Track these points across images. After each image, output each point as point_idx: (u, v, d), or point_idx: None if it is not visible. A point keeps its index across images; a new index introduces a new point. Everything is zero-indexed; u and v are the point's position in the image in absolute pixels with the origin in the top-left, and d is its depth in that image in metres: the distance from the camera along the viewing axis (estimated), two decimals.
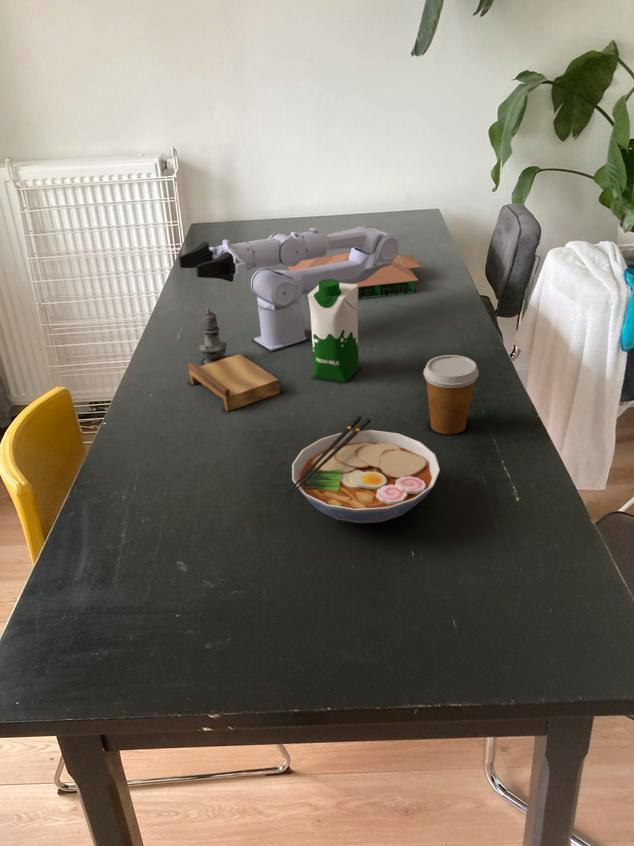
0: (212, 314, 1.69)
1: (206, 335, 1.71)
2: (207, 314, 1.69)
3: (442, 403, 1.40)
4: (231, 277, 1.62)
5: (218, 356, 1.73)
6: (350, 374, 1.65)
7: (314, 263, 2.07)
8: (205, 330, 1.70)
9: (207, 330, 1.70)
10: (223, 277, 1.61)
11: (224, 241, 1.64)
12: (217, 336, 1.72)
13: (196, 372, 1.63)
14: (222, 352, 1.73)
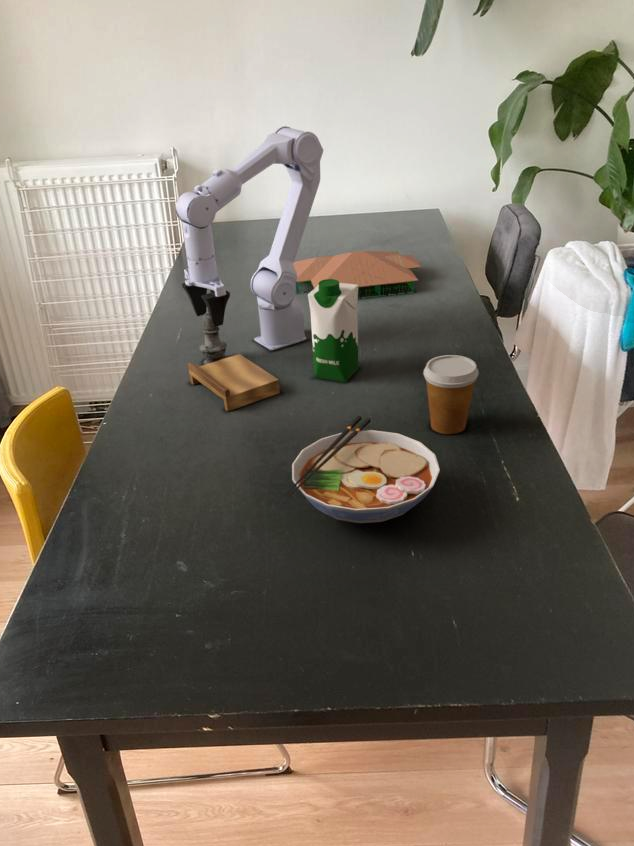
0: None
1: (206, 335, 1.71)
2: (207, 314, 1.69)
3: (442, 403, 1.40)
4: (226, 296, 1.63)
5: (218, 356, 1.73)
6: (350, 374, 1.65)
7: (314, 263, 2.07)
8: (205, 330, 1.70)
9: (207, 330, 1.70)
10: (225, 302, 1.64)
11: None
12: (217, 336, 1.72)
13: (196, 372, 1.63)
14: (222, 352, 1.73)
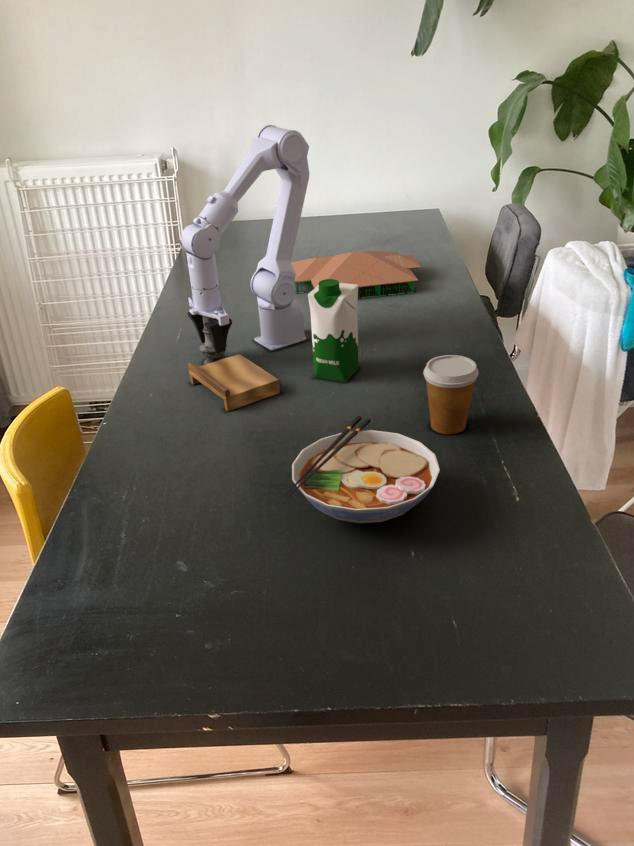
0: None
1: (206, 335, 1.71)
2: None
3: (442, 403, 1.40)
4: (228, 323, 1.67)
5: (218, 356, 1.73)
6: (350, 374, 1.65)
7: (314, 263, 2.07)
8: (205, 330, 1.70)
9: (207, 330, 1.70)
10: (227, 329, 1.68)
11: None
12: None
13: (196, 372, 1.63)
14: (222, 352, 1.73)
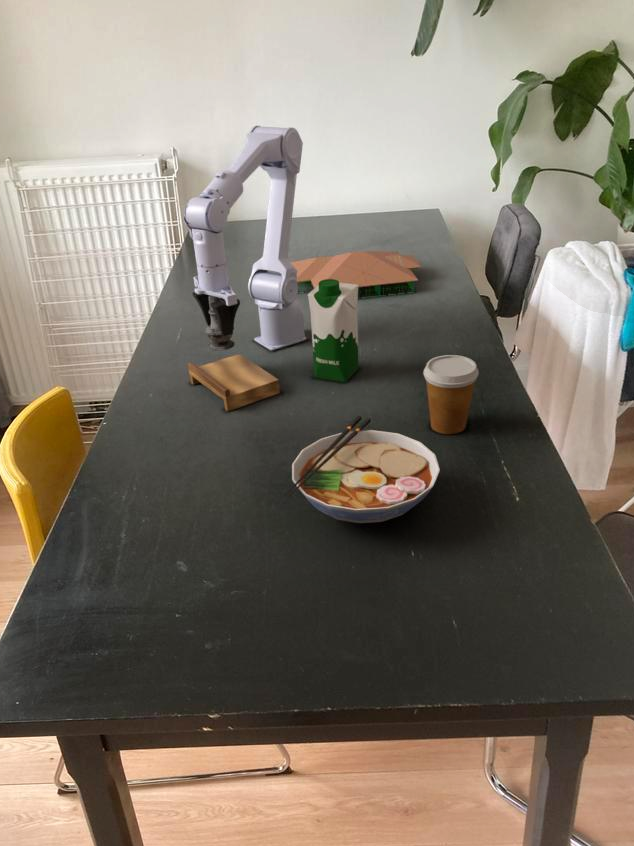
0: None
1: (212, 317, 1.61)
2: None
3: (442, 403, 1.40)
4: (236, 304, 1.56)
5: (225, 339, 1.62)
6: (350, 374, 1.65)
7: (314, 263, 2.07)
8: (211, 311, 1.60)
9: (213, 312, 1.60)
10: (235, 310, 1.58)
11: None
12: None
13: (196, 372, 1.63)
14: (229, 335, 1.62)
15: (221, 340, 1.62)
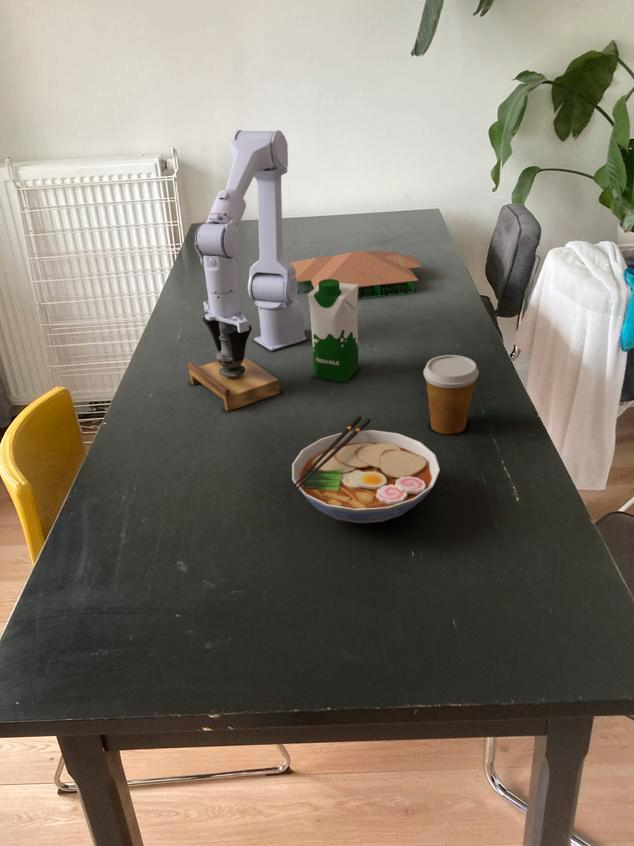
0: None
1: (223, 343, 1.58)
2: None
3: (442, 403, 1.40)
4: (248, 330, 1.54)
5: (236, 365, 1.59)
6: (350, 374, 1.65)
7: (314, 263, 2.07)
8: (222, 337, 1.57)
9: (224, 338, 1.57)
10: (246, 336, 1.55)
11: None
12: None
13: (196, 372, 1.63)
14: (240, 361, 1.59)
15: (232, 366, 1.59)
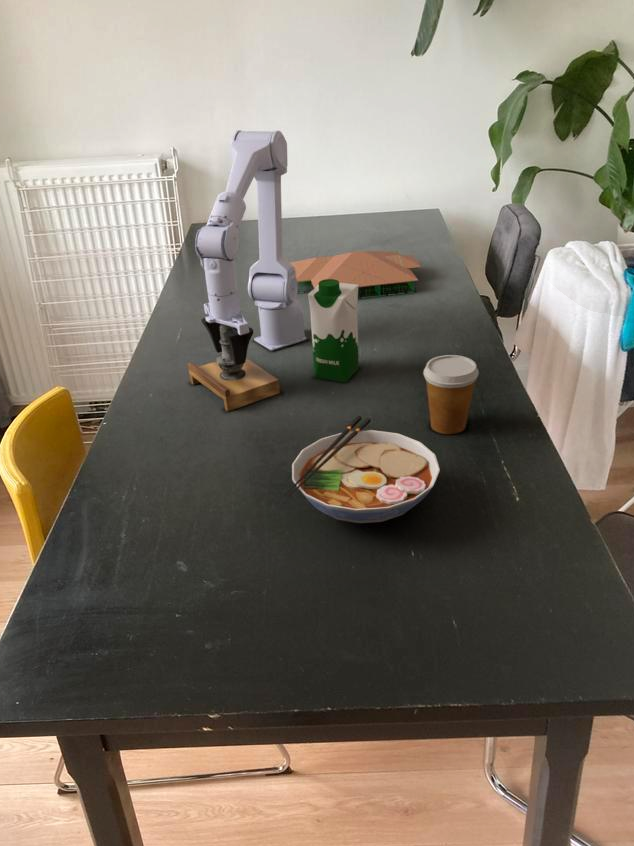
0: None
1: (223, 347, 1.58)
2: None
3: (442, 403, 1.40)
4: (249, 333, 1.53)
5: (236, 369, 1.60)
6: (350, 374, 1.65)
7: (314, 263, 2.07)
8: (222, 341, 1.58)
9: (224, 342, 1.57)
10: (248, 340, 1.55)
11: None
12: None
13: (196, 372, 1.63)
14: (240, 365, 1.60)
15: (232, 370, 1.60)
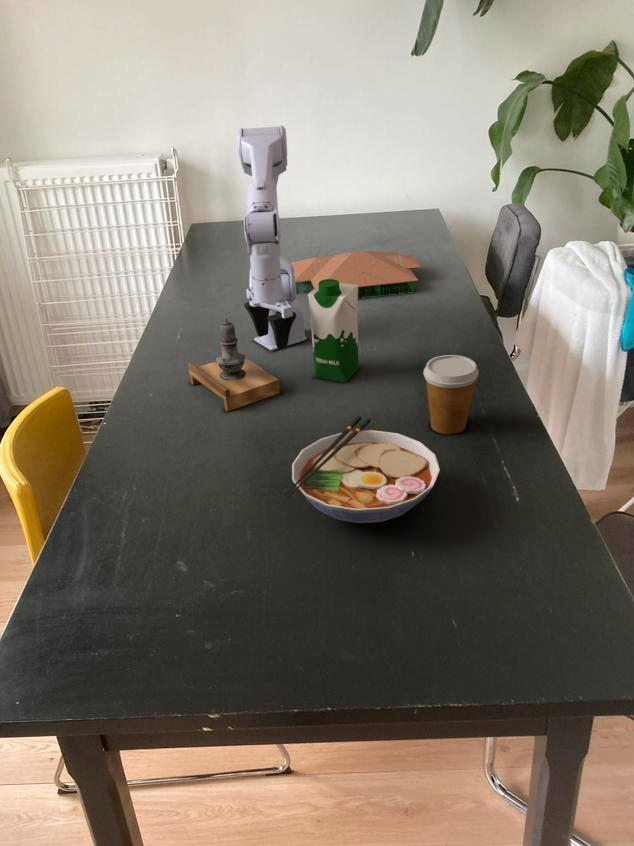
0: (230, 324, 1.56)
1: (223, 347, 1.58)
2: (225, 324, 1.56)
3: (442, 403, 1.40)
4: (293, 317, 1.57)
5: (236, 369, 1.60)
6: (350, 374, 1.65)
7: (314, 263, 2.07)
8: (222, 341, 1.58)
9: (224, 342, 1.57)
10: (291, 323, 1.58)
11: None
12: (235, 348, 1.59)
13: (196, 372, 1.63)
14: (240, 365, 1.60)
15: (232, 370, 1.60)
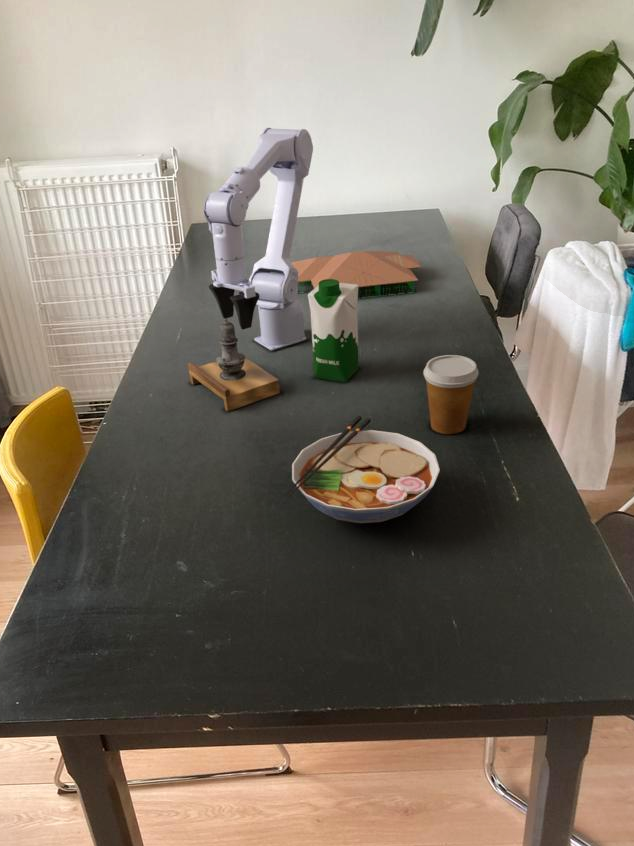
0: (230, 324, 1.56)
1: (223, 347, 1.58)
2: (225, 324, 1.56)
3: (442, 403, 1.40)
4: (256, 297, 1.59)
5: (236, 369, 1.60)
6: (350, 374, 1.65)
7: (314, 263, 2.07)
8: (222, 341, 1.58)
9: (224, 342, 1.57)
10: (254, 304, 1.60)
11: None
12: (235, 348, 1.59)
13: (196, 372, 1.63)
14: (240, 365, 1.60)
15: (232, 370, 1.60)
